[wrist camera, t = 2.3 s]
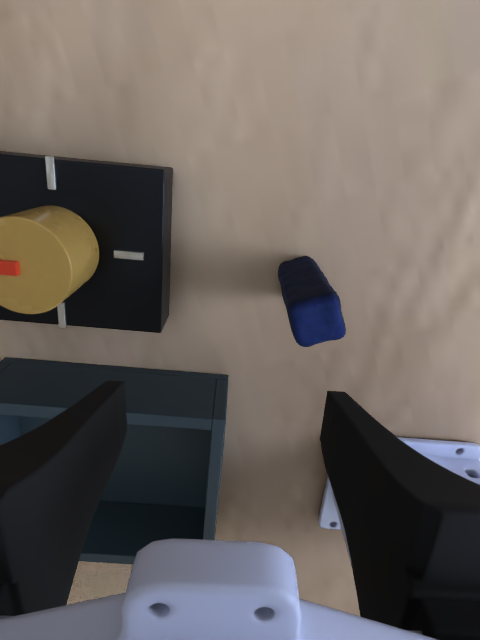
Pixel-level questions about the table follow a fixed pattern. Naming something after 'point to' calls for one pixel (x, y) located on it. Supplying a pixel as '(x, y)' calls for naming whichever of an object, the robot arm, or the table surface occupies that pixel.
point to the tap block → (102, 235)
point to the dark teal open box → (134, 447)
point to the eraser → (310, 302)
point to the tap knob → (44, 258)
